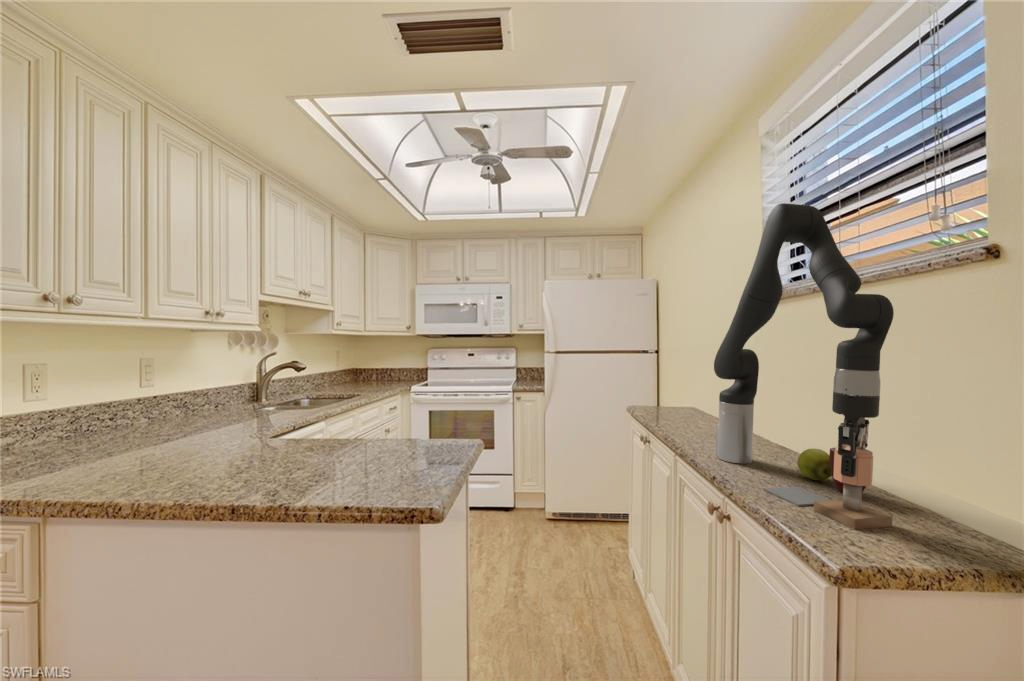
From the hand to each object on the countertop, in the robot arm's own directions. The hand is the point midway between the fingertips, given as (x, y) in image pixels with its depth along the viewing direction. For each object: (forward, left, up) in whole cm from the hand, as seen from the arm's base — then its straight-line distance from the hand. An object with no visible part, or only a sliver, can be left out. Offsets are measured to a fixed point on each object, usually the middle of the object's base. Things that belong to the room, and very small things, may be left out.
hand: (851, 472), depth 90 cm
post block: (0, 0, -9) cm, 9 cm away
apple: (-22, +14, -10) cm, 28 cm away
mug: (-11, +13, -10) cm, 19 cm away
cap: (0, 0, -2) cm, 2 cm away
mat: (-12, -1, -9) cm, 15 cm away
